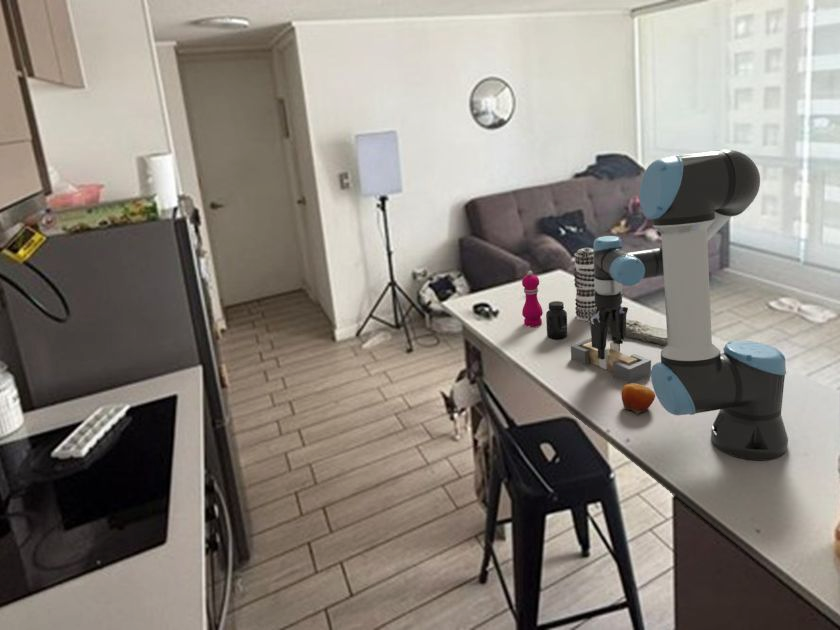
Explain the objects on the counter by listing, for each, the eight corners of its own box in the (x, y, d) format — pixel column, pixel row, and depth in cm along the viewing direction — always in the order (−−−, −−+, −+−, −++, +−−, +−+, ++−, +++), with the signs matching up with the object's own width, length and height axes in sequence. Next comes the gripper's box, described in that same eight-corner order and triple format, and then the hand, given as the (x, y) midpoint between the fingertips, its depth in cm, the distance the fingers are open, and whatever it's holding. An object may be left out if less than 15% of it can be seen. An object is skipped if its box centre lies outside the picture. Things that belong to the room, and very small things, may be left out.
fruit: (611, 408, 154) (619, 378, 154) (624, 411, 160) (632, 382, 160) (641, 417, 148) (649, 386, 149) (654, 420, 154) (661, 389, 154)
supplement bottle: (568, 340, 201) (566, 306, 197) (547, 341, 202) (545, 307, 198) (567, 332, 207) (566, 299, 203) (547, 333, 209) (545, 300, 205)
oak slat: (637, 374, 173) (637, 359, 171) (628, 378, 171) (628, 362, 170) (591, 356, 188) (590, 341, 186) (582, 359, 186) (582, 344, 185)
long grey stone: (684, 358, 182) (699, 348, 189) (686, 341, 181) (701, 332, 187) (584, 329, 207) (601, 321, 214) (585, 314, 206) (602, 307, 212)
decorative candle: (607, 316, 217) (605, 248, 208) (587, 323, 213) (586, 254, 204) (588, 310, 224) (586, 244, 216) (569, 317, 220) (567, 250, 212)
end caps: (650, 374, 172) (651, 360, 170) (629, 383, 168) (629, 369, 166) (591, 351, 191) (591, 338, 189) (571, 359, 187) (570, 345, 186)
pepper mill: (521, 327, 216) (518, 274, 209) (524, 320, 223) (520, 268, 216) (542, 327, 214) (539, 273, 207) (544, 320, 220) (541, 267, 214)
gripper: (619, 281, 178) (619, 353, 186) (576, 295, 171) (578, 370, 179) (639, 286, 172) (639, 360, 180) (596, 301, 165) (597, 378, 173)
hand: (609, 365), depth 179 cm, fingers open, 4 cm apart
